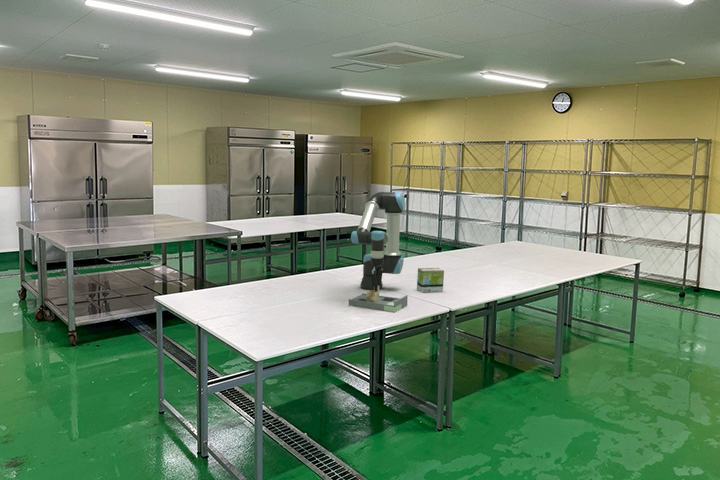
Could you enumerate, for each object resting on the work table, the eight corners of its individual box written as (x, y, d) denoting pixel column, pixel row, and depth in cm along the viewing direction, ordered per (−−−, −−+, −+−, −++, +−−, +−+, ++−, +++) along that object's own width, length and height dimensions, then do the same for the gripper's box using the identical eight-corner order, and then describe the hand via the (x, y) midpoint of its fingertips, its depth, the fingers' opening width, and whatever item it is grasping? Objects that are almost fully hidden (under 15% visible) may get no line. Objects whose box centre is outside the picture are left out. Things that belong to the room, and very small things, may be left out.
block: (366, 301, 328) (366, 292, 327) (370, 299, 333) (370, 290, 332) (374, 302, 325) (375, 293, 325) (378, 300, 330) (379, 291, 329)
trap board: (348, 305, 330) (348, 295, 329) (362, 298, 345) (362, 289, 345) (395, 312, 316) (395, 302, 315) (407, 305, 332) (407, 295, 331)
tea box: (422, 292, 365) (422, 270, 363) (416, 289, 374) (417, 267, 372) (443, 291, 369) (444, 269, 367) (437, 288, 378) (438, 267, 376)
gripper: (378, 259, 321) (377, 299, 324) (387, 256, 332) (386, 294, 335) (366, 258, 324) (366, 297, 327) (376, 255, 335) (375, 293, 339)
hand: (376, 296), depth 331 cm, fingers closed
